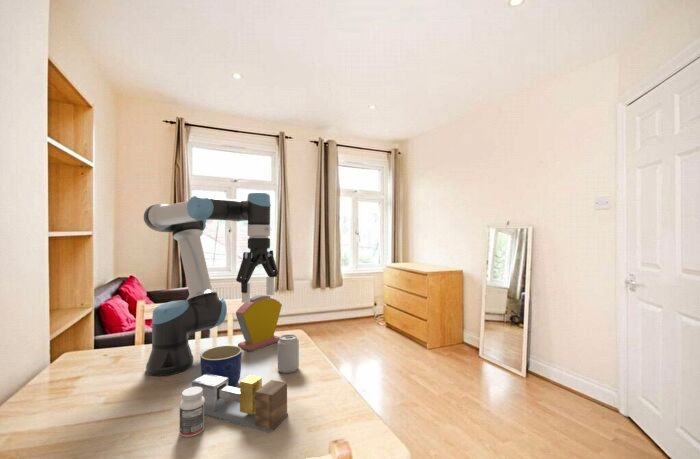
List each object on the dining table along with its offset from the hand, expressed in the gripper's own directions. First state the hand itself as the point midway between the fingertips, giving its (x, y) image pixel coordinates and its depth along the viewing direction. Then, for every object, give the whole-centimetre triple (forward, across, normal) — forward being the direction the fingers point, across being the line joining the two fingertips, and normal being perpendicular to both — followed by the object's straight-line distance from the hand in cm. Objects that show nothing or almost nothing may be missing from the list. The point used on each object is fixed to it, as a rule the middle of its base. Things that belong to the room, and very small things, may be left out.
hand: (258, 298), depth 109 cm
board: (+27, -21, -8) cm, 35 cm away
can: (+27, +8, -7) cm, 29 cm away
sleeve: (+27, -21, +1) cm, 34 cm away
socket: (+27, -21, -20) cm, 39 cm away
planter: (+27, -10, +7) cm, 30 cm away
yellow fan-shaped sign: (+27, +27, +19) cm, 43 cm away
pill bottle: (+27, -31, -3) cm, 41 cm away
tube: (+25, -21, -9) cm, 34 cm away
